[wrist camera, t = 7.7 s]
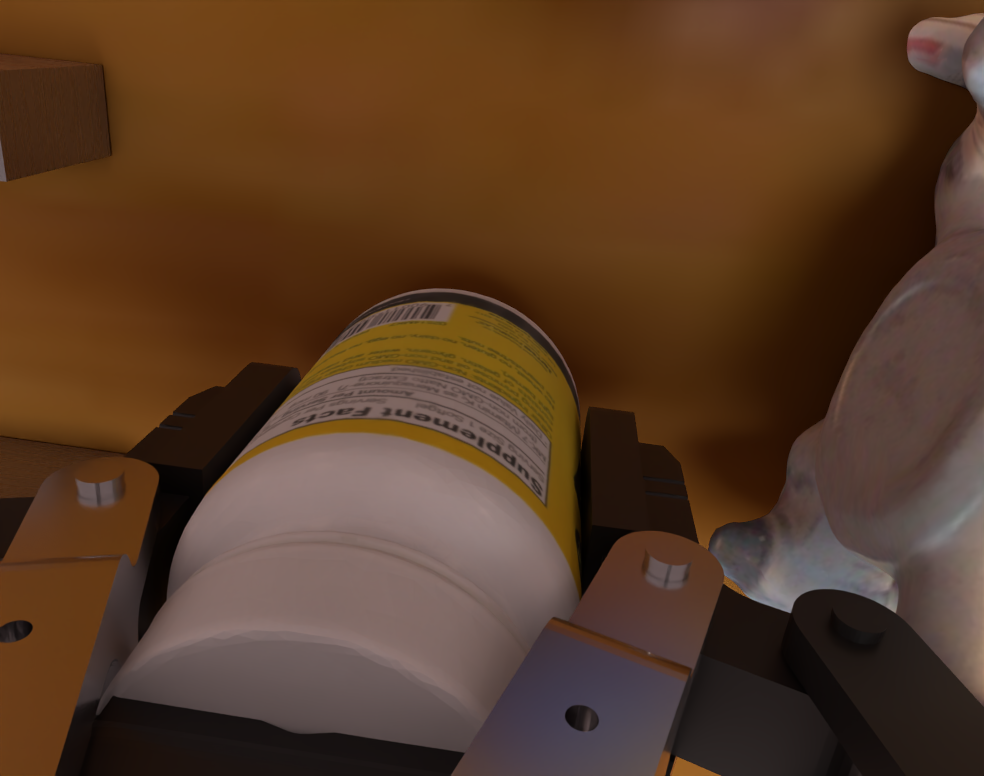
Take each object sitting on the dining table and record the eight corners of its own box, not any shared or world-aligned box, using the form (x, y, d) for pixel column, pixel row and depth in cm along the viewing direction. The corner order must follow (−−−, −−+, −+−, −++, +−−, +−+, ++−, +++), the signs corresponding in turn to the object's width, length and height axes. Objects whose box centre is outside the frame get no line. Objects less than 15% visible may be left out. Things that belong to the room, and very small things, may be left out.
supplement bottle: (505, 560, 16) (431, 1059, 8) (285, 452, 15) (-19, 870, 8) (633, 360, 14) (698, 763, 6) (385, 230, 13) (116, 486, 6)
